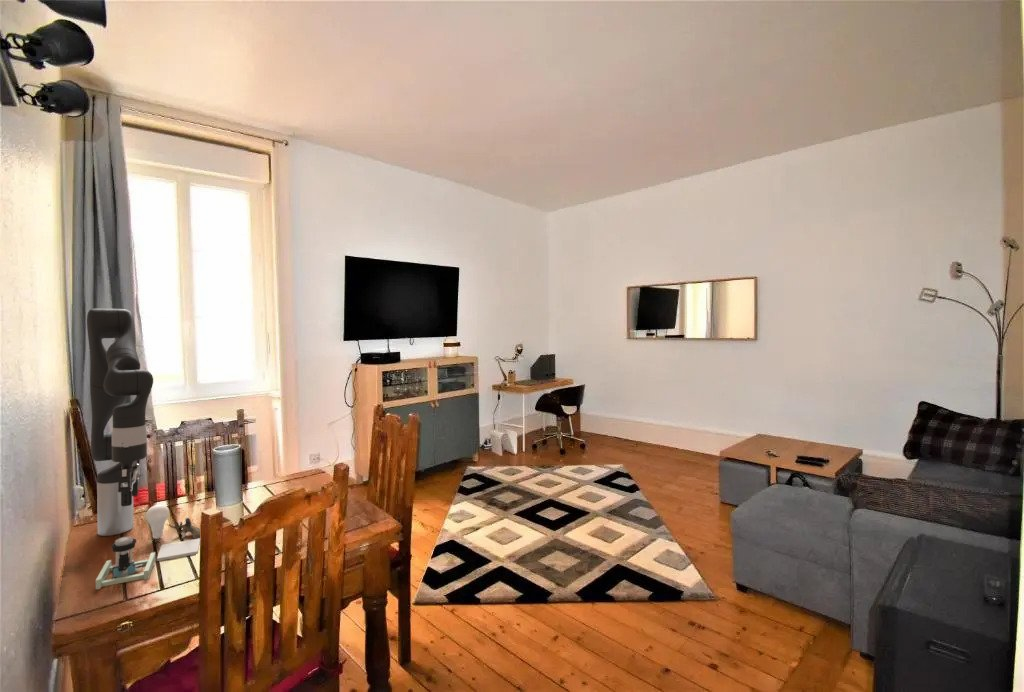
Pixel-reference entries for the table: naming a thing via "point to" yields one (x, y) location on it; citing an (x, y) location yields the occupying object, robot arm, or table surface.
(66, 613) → the table surface
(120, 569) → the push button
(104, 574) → the frame
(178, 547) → the tile
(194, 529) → the eagle figurine
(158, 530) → the lightbulb
